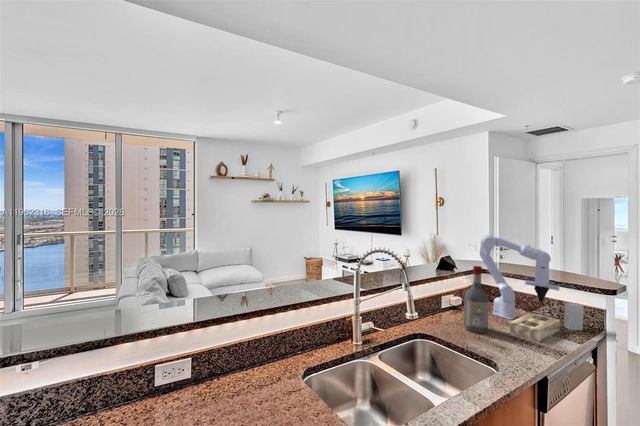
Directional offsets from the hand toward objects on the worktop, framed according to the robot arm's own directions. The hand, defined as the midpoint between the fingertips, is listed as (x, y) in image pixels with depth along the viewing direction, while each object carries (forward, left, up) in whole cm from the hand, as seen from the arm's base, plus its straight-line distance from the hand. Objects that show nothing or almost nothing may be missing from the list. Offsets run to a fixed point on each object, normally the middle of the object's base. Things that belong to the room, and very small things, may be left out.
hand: (541, 301), depth 161 cm
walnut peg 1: (+4, -23, -10) cm, 26 cm away
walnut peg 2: (+4, -11, -10) cm, 16 cm away
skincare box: (+13, +3, -11) cm, 17 cm away
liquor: (-13, -39, -11) cm, 43 cm away
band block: (+4, -17, -10) cm, 20 cm away
